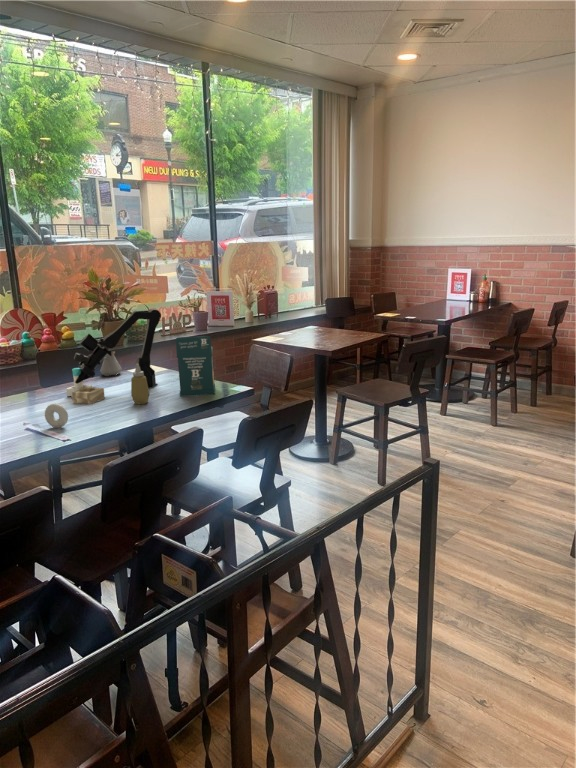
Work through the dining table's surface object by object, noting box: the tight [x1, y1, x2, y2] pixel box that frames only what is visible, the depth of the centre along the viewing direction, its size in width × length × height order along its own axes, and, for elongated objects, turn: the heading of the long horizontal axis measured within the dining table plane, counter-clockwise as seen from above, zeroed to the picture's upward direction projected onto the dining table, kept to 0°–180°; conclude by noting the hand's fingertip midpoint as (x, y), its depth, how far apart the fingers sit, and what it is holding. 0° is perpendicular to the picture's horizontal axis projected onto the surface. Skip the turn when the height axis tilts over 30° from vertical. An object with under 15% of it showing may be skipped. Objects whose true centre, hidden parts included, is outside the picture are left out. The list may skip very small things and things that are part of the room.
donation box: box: [175, 335, 216, 397], centre depth 269 cm, size 16×16×28 cm
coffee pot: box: [99, 350, 122, 377], centre depth 308 cm, size 21×12×15 cm, turn 170°
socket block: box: [72, 386, 106, 405], centre depth 261 cm, size 10×10×5 cm
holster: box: [65, 384, 93, 398], centre depth 272 cm, size 8×8×4 cm
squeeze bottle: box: [130, 364, 150, 405], centre depth 253 cm, size 8×8×18 cm
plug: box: [71, 367, 84, 389], centre depth 271 cm, size 4×4×13 cm
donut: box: [44, 402, 69, 429], centre depth 222 cm, size 10×4×10 cm, turn 74°
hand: (75, 382), depth 270 cm, fingers closed on plug, 4 cm apart
